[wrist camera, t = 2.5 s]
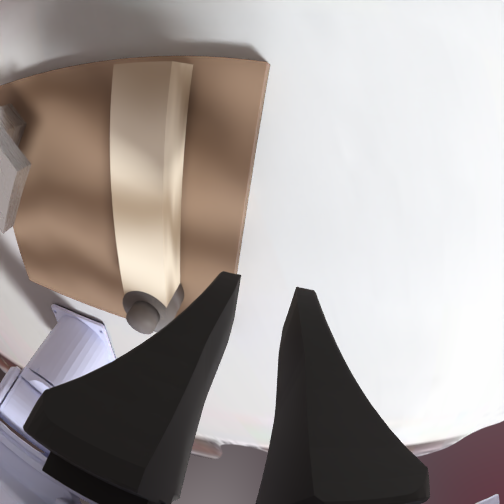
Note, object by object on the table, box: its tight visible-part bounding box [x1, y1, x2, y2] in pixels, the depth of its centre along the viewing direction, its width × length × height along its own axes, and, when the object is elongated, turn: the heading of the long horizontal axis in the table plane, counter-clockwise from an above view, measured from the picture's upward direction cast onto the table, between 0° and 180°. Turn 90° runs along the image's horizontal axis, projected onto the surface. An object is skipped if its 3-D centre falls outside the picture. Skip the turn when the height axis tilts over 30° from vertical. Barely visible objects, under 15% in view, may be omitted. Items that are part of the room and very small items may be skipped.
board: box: [0, 56, 270, 319], centre depth 18 cm, size 20×22×2 cm
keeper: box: [0, 103, 31, 233], centre depth 13 cm, size 8×6×5 cm
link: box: [110, 61, 193, 334], centre depth 14 cm, size 16×4×4 cm, turn 172°
